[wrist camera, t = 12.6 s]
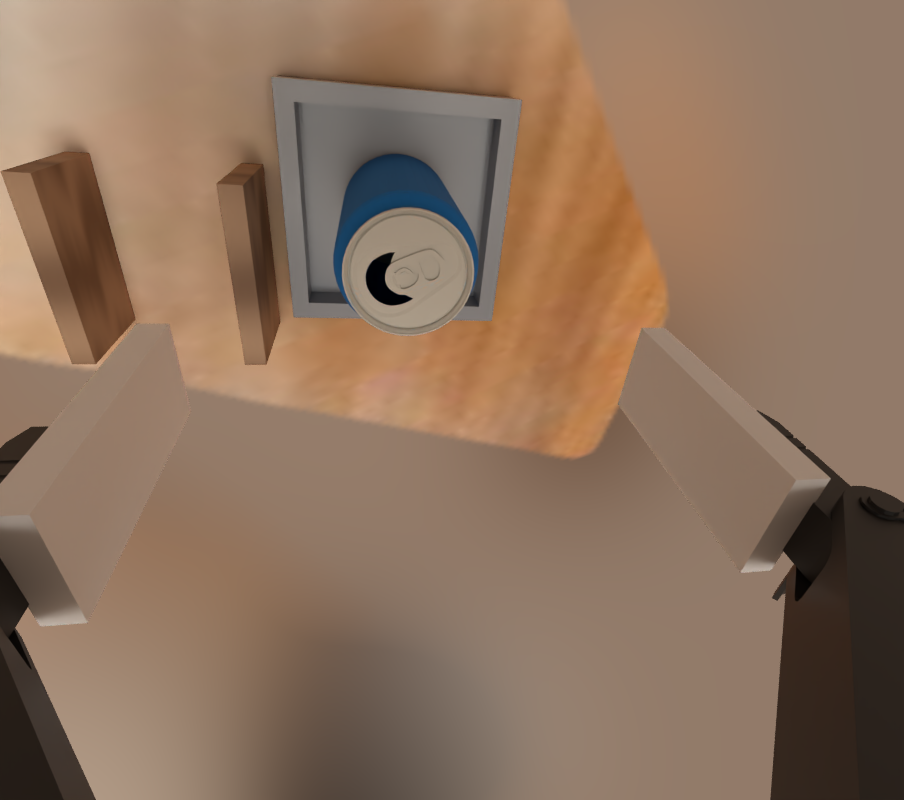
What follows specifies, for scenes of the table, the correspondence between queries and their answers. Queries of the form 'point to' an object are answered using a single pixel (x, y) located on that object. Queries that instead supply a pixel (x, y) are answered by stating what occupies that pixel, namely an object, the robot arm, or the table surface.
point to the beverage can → (403, 247)
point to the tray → (381, 133)
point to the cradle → (97, 265)
